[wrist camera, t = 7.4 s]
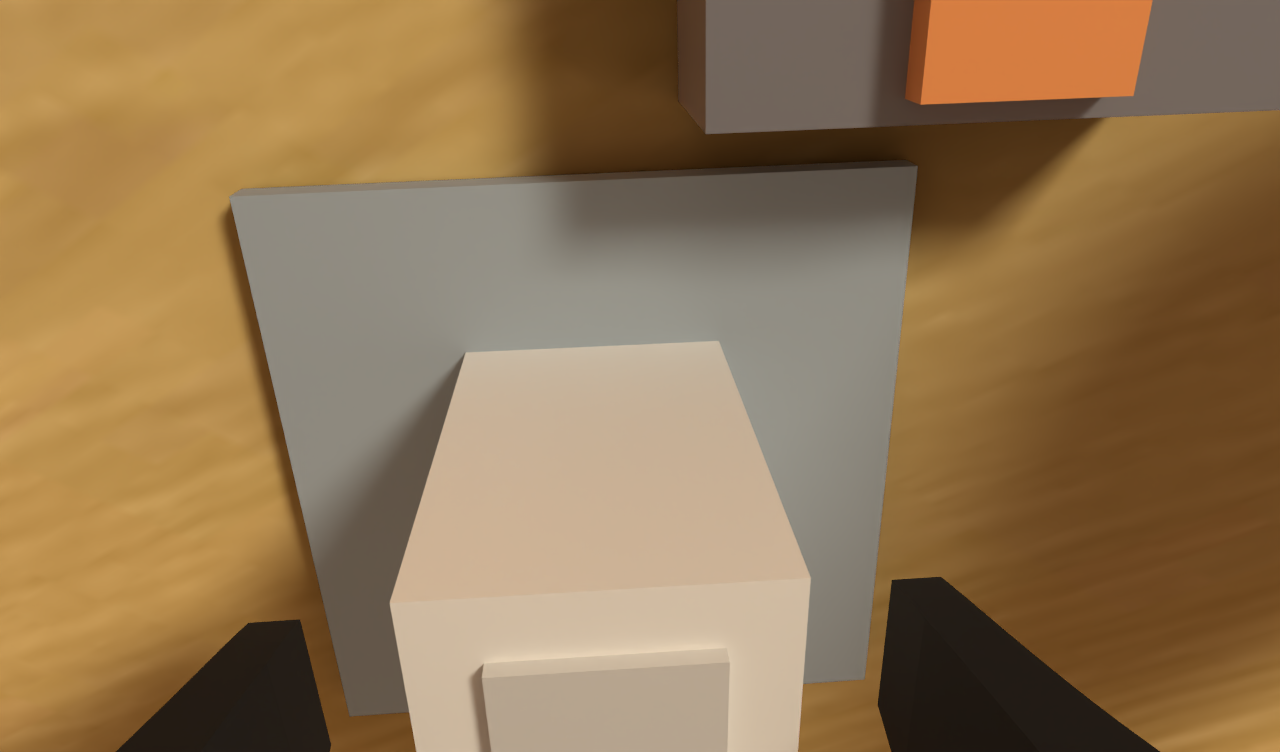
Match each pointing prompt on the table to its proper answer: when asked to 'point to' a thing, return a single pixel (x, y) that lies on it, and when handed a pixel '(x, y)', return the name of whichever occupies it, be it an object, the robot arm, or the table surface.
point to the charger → (601, 562)
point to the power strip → (859, 61)
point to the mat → (580, 317)
